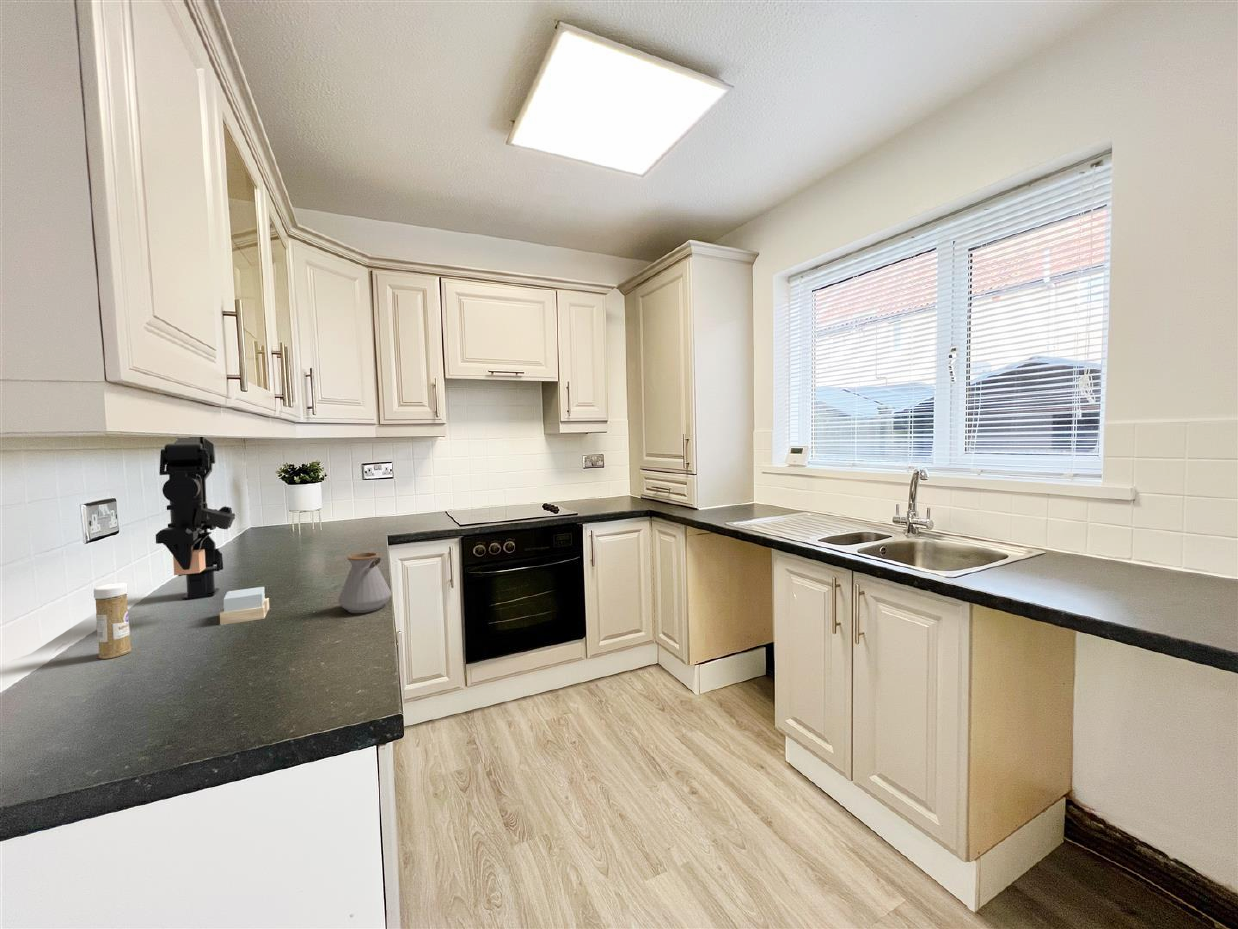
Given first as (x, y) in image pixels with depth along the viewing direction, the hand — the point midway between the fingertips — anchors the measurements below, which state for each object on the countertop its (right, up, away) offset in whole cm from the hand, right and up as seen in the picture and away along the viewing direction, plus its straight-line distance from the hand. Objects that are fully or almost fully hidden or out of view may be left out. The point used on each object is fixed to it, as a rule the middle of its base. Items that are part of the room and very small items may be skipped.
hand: (190, 567), depth 115 cm
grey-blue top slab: (+11, -9, +2) cm, 15 cm away
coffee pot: (+40, -12, +3) cm, 41 cm away
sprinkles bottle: (+1, -13, -18) cm, 23 cm away
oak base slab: (+11, -12, +2) cm, 17 cm away
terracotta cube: (0, -1, 0) cm, 1 cm away
